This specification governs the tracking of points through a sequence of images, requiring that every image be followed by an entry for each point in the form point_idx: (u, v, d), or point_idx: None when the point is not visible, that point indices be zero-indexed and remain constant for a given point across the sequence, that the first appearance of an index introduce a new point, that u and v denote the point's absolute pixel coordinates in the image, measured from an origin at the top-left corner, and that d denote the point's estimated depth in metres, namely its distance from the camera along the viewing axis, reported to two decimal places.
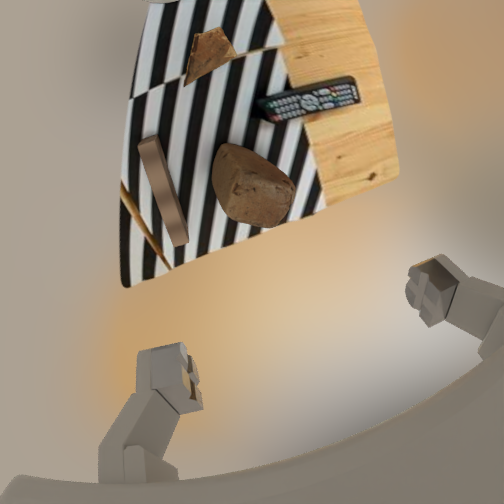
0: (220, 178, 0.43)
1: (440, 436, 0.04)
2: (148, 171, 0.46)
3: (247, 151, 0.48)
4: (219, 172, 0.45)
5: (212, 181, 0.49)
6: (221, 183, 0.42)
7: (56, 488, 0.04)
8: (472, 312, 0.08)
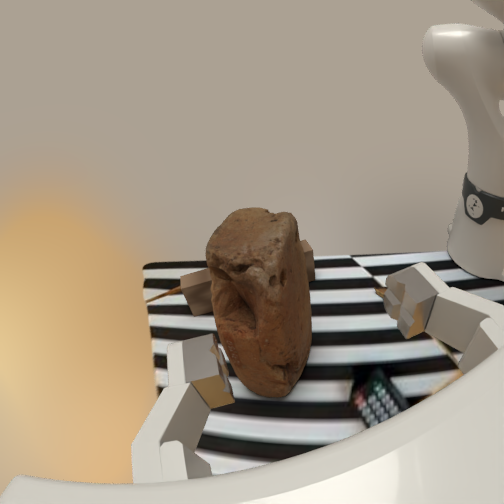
0: None
1: (440, 436, 0.04)
2: None
3: (307, 335, 0.32)
4: None
5: None
6: None
7: (56, 488, 0.04)
8: (452, 324, 0.08)
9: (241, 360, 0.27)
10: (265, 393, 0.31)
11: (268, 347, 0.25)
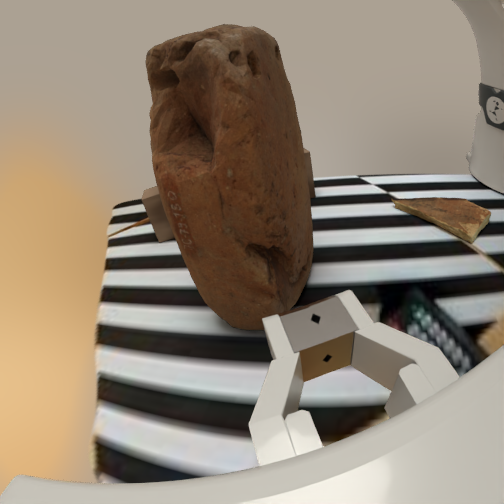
0: None
1: (440, 436, 0.04)
2: None
3: (306, 225, 0.21)
4: None
5: None
6: None
7: (56, 488, 0.04)
8: (377, 363, 0.07)
9: (194, 236, 0.17)
10: (241, 319, 0.20)
11: (234, 192, 0.14)
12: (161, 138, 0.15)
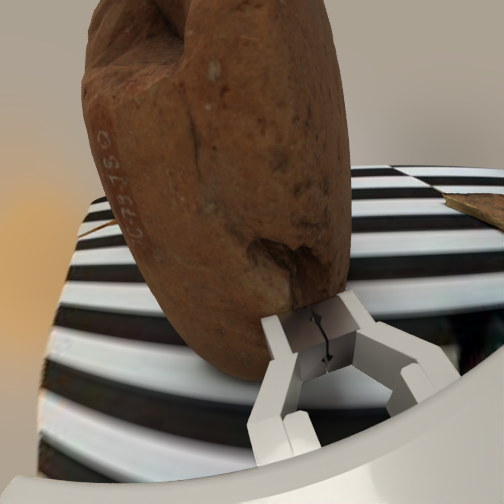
0: None
1: (440, 436, 0.04)
2: None
3: (348, 213, 0.13)
4: None
5: None
6: None
7: (56, 488, 0.04)
8: (378, 363, 0.07)
9: (145, 223, 0.08)
10: (239, 367, 0.12)
11: (223, 116, 0.06)
12: (99, 45, 0.06)
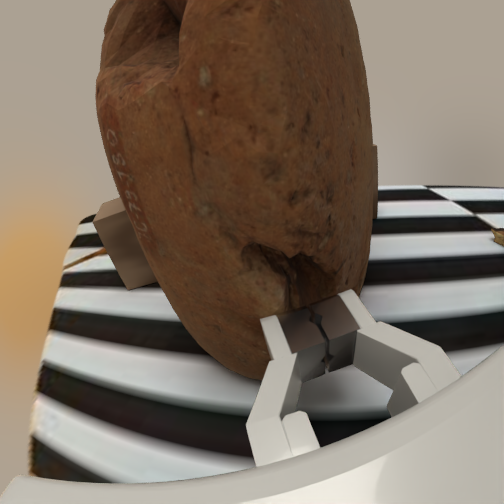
0: None
1: (440, 436, 0.04)
2: None
3: (365, 221, 0.12)
4: None
5: None
6: None
7: (56, 488, 0.04)
8: (379, 362, 0.07)
9: (149, 218, 0.08)
10: (237, 364, 0.12)
11: (215, 122, 0.06)
12: (112, 44, 0.07)
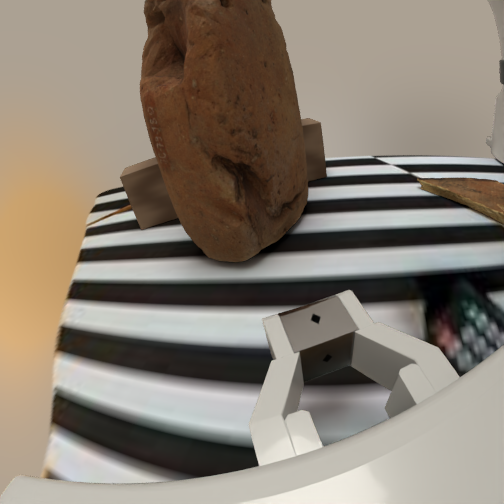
0: None
1: (440, 436, 0.04)
2: None
3: (291, 159, 0.20)
4: None
5: None
6: None
7: (56, 488, 0.04)
8: (377, 363, 0.07)
9: (167, 149, 0.17)
10: (213, 245, 0.20)
11: (198, 101, 0.14)
12: (148, 65, 0.15)
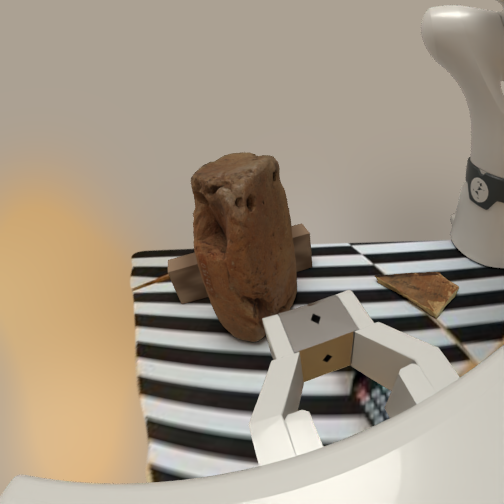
0: None
1: (440, 436, 0.04)
2: None
3: (286, 282, 0.34)
4: None
5: None
6: None
7: (56, 488, 0.04)
8: (377, 363, 0.07)
9: (214, 287, 0.30)
10: (238, 333, 0.34)
11: (235, 271, 0.28)
12: (199, 232, 0.29)
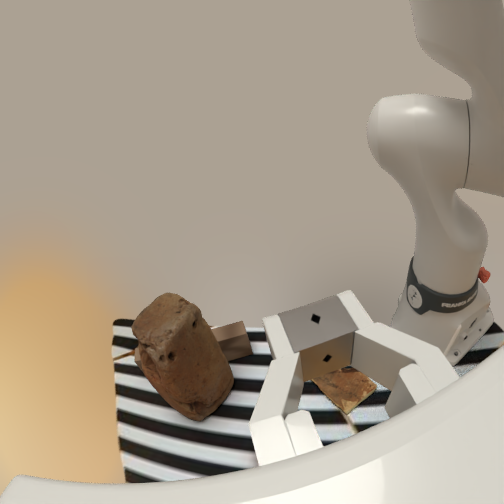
0: None
1: (440, 436, 0.04)
2: (215, 329, 0.49)
3: (218, 384, 0.41)
4: None
5: None
6: None
7: (56, 488, 0.04)
8: (377, 363, 0.07)
9: (160, 393, 0.37)
10: (185, 415, 0.40)
11: (170, 391, 0.34)
12: (144, 361, 0.35)
